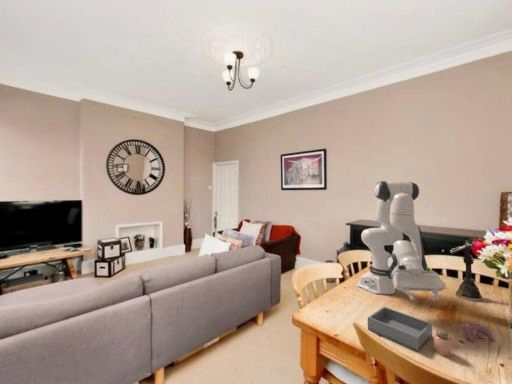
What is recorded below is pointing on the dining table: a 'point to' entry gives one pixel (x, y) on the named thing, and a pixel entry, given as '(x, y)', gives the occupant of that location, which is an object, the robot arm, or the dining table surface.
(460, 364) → the dining table surface
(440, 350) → the jar
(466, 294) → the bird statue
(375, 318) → the bin
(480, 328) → the purple animal figurine
